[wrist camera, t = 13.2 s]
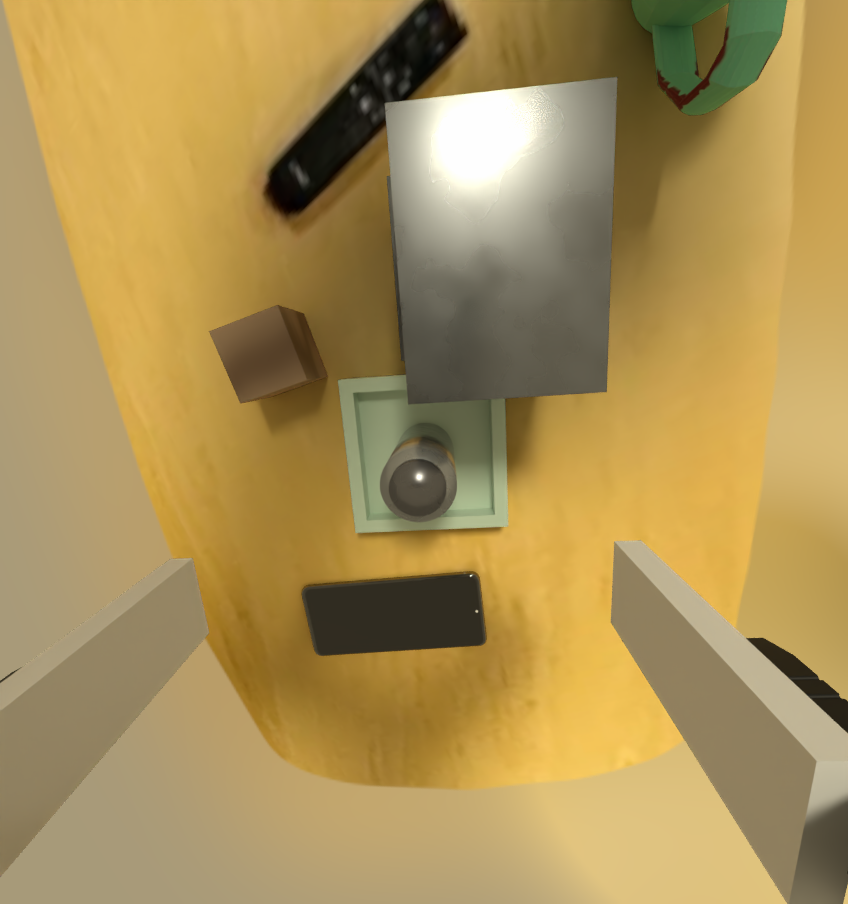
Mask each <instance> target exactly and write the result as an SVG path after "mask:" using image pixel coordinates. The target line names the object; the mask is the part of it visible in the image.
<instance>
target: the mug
mask: <svg viewBox="0 0 848 904" xmlns="http://www.w3.org/2000/svg"><path fill="white" fill-rule="evenodd" d="M728 3H729V7H728V14H727V22H726V29H725V37H724V44H723V47H722V49H721V51H720V52H719V54H718V56H717V58H716V60H715V62H714V63H713V65H712V67H711V69H710V71H709V73H708V75H707V76H706V78H705V79H703V80H702V79H701V78H699V74H698V66H697V59H696V51H695V44H694V37H693V29H692V25H693V24H695V23H697V22H699V21H700V20H702V19H704V18H706V17H707V16H709V15H711V14H712V13H714V12H715V11H717V10H719V9H720V8H722V7H723V6H725V5H726V4H728ZM786 3H787V0H631V4H632V9H633V12H634V14H635V17H636V19H637V21H638V22H639V23H640V25H641V26H642V27H643V28H644V29H645V30H647V31H649V32H650V33H652V36H653V46H654V55H655V65H656V75H657V84H658V86H659V87H660V89H661V90H662V91H663V92H664V93H665V94H666V95H667V96H668V97H669V99H670V100H671V101H672V102H673V103H674V104H675V105H676V106H677V107H678V109H679V110H680V111H682V112H683V113H685V114H687V115H703V114H705V113H708V112H710V111H712V110H715V109H717V108H718V107H720V106H721V105H723V104H724V103H726V102H727V101H728V100H730V99H731V98H733V97H734V96H735V95H737V94H738V93H740V92H741V91H742V90H744V89H745V88H747V87H748V86H749V85H751V84H752V83H754V82H755V81H756V80H757V79H758V77H759V76H760V74H761V72H762V70H763V68H764V66H765V65H766V63H767V61H768V59H769V57H770V55H771V54H772V52H773V50H774V48H775V46H776V44H777V43H778V41H779V39H780V37H781V35H782V28H783V22H784V16H785V10H786Z"/></svg>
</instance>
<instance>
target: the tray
mask: <svg viewBox="0 0 848 904" xmlns="http://www.w3.org/2000/svg"><path fill="white" fill-rule="evenodd" d="M338 386H339V394H340V403H341V412H342V420H343V429H344V438H345V446H346V455H347V464H348V472H349V481H350V489H351V498H352V507H353V515H354V524H355V533H368V532H391V531H415V530H438V529H461V528H484V527H508V495H507V451H506V407H505V398H503V399H487V400H472V401H456V402H440V403H425V404H409V405H408V396H407V383H406V374H402V375H387V376H373V377H358V378H345V379H340V380H338ZM419 423H431V424H435V425H437V426H439V427H441V428H442V429H444V430H445V431H446V432H447V433H448V435H449V436H450V438H451V440H452V443H453V448H454V458H455V468H456V478H457V492H456V496H455V499H454V501H453V503H452V505H451V506H450V508H449V509H448V510H447V511H446V512H445V513H444V514H443V515H441V516H440V517H438V518H436V519H434V520H431V521H427V522H411V521H407V520H405V519H402V518H400V517H398V516H397V515H395V514H394V513H393V512H392V511H391V510H390V509H389V508H388V507H387V506H386V504H385V502H384V501H383V498H382V496H381V492H380V477H381V473H382V471H383V468H384V467H385V465H386V463H387V461H388V460H389V458H390V456H391V454H392V452H393V451H394V449H395V447H396V445H397V443H398V442H399V440H400V438H401V436H402V435H403V433H404V432H405V431H406V430H407V429H409V428H410V427H412V426H413V425H416V424H419Z"/></svg>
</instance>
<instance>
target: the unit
mask: <svg viewBox="0 0 848 904" xmlns="http://www.w3.org/2000/svg"><path fill="white" fill-rule="evenodd" d="M616 102H617V77H611V78H602V79H593V80H585V81H576V82H567V83H558V84H549V85H540V86H531V87H523V88H514V89H505V90H496V91H487V92H478V93H470V94H461V95H452V96H443V97H434V98H425V99H417V100H408V101H399V102H390V103H385V113H386V125H387V138H388V151H389V164H390V176H387V185H388V198H389V211H390V223H391V236H392V248H393V261H394V274H395V286H396V299H397V311H398V324H399V337H400V349H401V361H405V370H406V383H407V396H408V405H409V404H425V403H440V402H456V401H472V400H487V399H503V398H519V397H535V396H550V395H566V394H582V393H598V392H607V366H608V337H609V308H610V278H611V249H612V219H613V190H614V161H615V131H616Z"/></svg>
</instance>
